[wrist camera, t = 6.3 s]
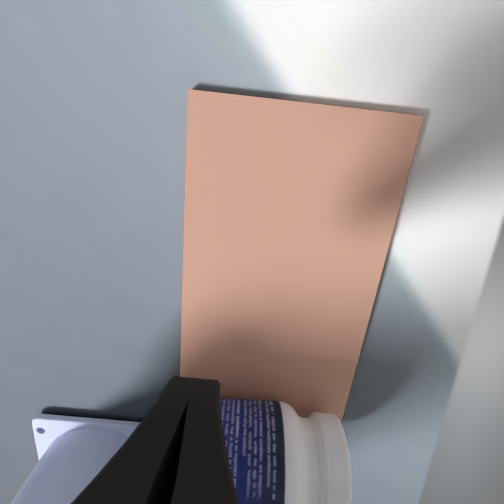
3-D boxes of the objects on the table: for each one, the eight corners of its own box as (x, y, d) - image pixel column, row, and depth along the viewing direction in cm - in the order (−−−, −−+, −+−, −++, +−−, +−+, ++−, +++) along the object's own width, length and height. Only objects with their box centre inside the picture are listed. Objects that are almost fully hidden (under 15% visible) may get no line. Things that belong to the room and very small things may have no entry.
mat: (337, 423, 20) (339, 429, 19) (180, 410, 19) (178, 415, 19) (419, 116, 14) (424, 115, 13) (189, 90, 13) (187, 89, 13)
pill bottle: (115, 548, 12) (363, 559, 12) (144, 391, 15) (349, 401, 15) (152, 507, 18) (328, 515, 18) (168, 396, 20) (322, 403, 20)
